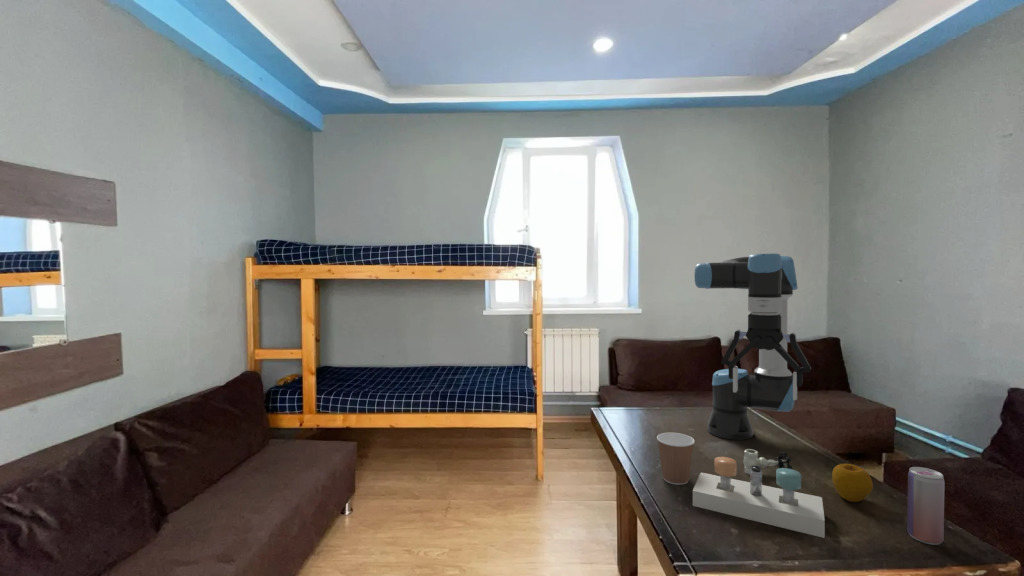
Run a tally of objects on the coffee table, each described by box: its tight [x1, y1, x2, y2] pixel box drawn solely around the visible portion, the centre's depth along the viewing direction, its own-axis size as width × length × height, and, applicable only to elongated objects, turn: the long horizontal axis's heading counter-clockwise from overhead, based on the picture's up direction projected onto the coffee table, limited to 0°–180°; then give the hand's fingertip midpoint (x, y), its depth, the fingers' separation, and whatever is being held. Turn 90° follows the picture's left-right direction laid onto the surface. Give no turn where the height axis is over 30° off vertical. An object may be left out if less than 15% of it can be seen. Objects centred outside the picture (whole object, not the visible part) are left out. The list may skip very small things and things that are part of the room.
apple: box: [831, 463, 874, 503], centre depth 118 cm, size 9×8×9 cm
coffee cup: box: [656, 432, 696, 486], centre depth 131 cm, size 10×10×12 cm
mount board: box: [692, 472, 826, 539], centre depth 114 cm, size 12×28×4 cm, turn 58°
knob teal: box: [775, 467, 802, 503], centre depth 110 cm, size 5×5×7 cm
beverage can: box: [906, 466, 945, 546], centre depth 101 cm, size 6×6×15 cm
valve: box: [742, 448, 793, 476], centre depth 134 cm, size 7×7×12 cm
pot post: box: [749, 466, 763, 496], centre depth 114 cm, size 3×3×7 cm
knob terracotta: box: [714, 456, 738, 490], centre depth 118 cm, size 5×5×7 cm
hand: (764, 394), depth 117 cm, fingers open, 13 cm apart
